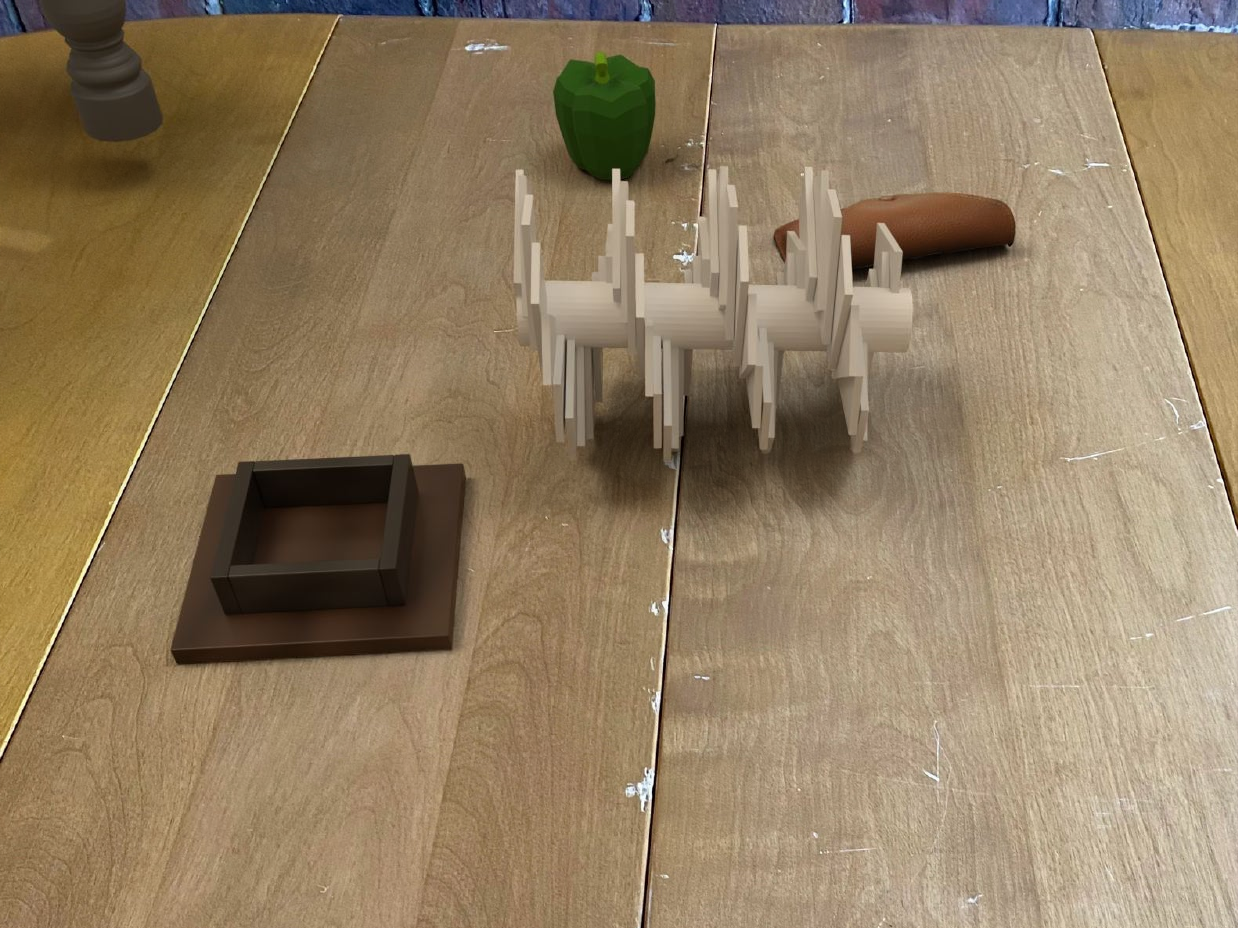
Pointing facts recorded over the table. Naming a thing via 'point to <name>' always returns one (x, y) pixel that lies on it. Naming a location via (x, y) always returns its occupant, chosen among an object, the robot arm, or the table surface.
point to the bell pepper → (605, 113)
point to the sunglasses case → (920, 225)
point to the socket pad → (324, 560)
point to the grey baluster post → (104, 70)
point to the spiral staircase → (710, 312)
